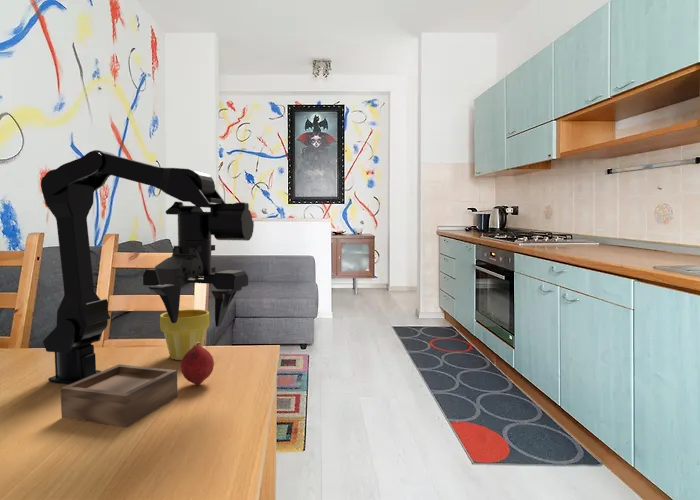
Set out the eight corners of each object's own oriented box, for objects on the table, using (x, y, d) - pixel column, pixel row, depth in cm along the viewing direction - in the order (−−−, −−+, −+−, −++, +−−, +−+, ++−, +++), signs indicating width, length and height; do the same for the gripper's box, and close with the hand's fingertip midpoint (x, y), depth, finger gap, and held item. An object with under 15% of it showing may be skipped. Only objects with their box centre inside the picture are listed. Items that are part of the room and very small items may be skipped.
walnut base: (61, 417, 70) (60, 388, 70) (119, 389, 82) (118, 364, 81) (126, 427, 67) (125, 396, 67) (177, 396, 79) (176, 370, 78)
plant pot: (172, 349, 108) (171, 308, 107) (216, 349, 107) (215, 308, 107) (152, 362, 97) (151, 317, 97) (200, 363, 97) (199, 318, 96)
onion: (203, 391, 81) (203, 347, 80) (174, 389, 82) (173, 345, 82) (219, 380, 87) (218, 339, 86) (192, 378, 88) (191, 337, 87)
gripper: (118, 240, 77) (121, 331, 78) (216, 243, 72) (217, 339, 73) (161, 238, 88) (163, 317, 89) (249, 240, 83) (249, 324, 84)
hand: (196, 324), depth 84 cm, fingers open, 9 cm apart
